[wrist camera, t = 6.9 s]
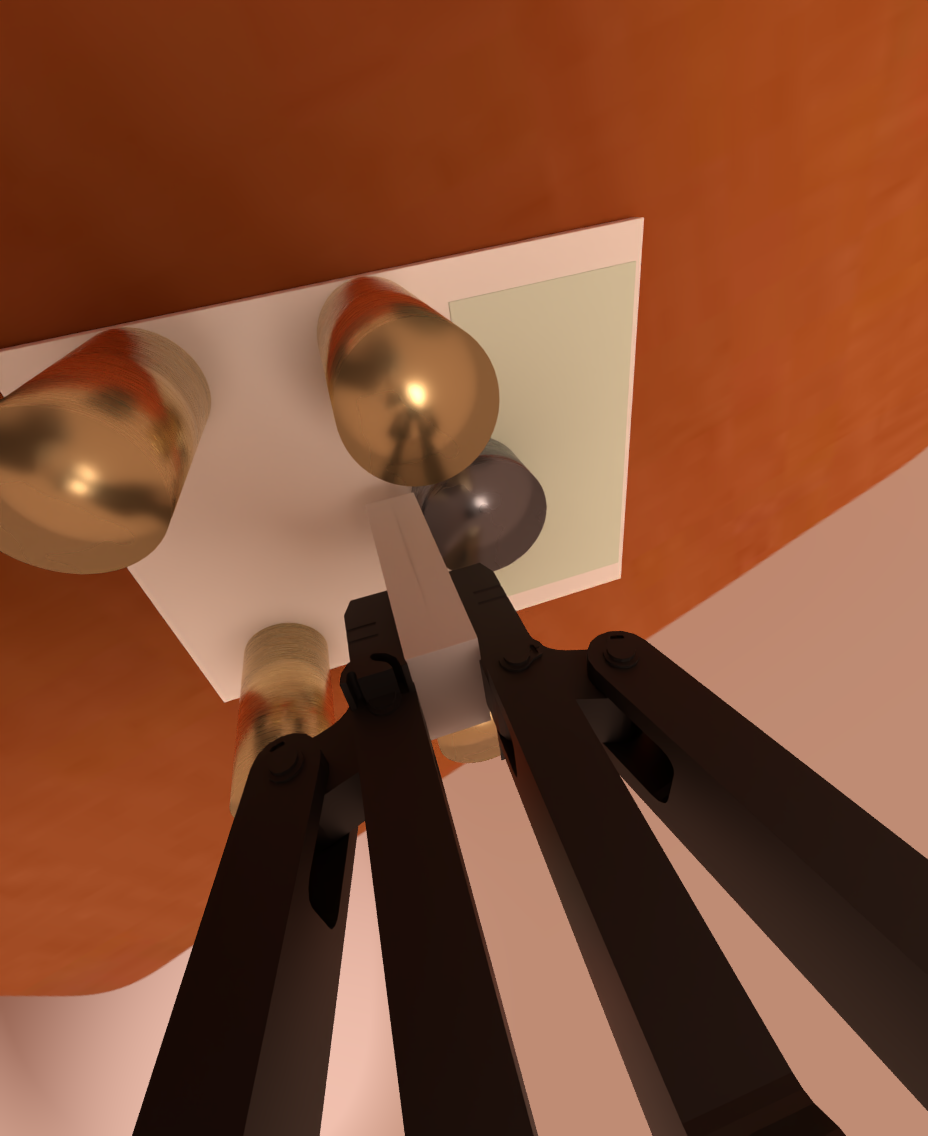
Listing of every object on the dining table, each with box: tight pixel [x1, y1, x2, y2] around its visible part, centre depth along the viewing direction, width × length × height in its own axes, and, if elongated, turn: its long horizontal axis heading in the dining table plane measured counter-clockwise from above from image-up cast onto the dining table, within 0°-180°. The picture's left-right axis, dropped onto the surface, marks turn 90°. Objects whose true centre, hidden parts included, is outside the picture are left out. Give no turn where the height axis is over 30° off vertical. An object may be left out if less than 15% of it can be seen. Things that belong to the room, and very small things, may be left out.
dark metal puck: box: [411, 438, 547, 571], centre depth 16 cm, size 4×4×2 cm
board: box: [0, 217, 644, 702], centre depth 17 cm, size 13×17×1 cm
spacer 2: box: [230, 623, 335, 818], centre depth 17 cm, size 3×3×6 cm
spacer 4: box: [437, 713, 501, 763], centre depth 17 cm, size 3×3×6 cm
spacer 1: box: [0, 327, 211, 574], centre depth 10 cm, size 3×3×6 cm
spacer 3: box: [317, 276, 500, 487], centre depth 11 cm, size 3×3×6 cm
